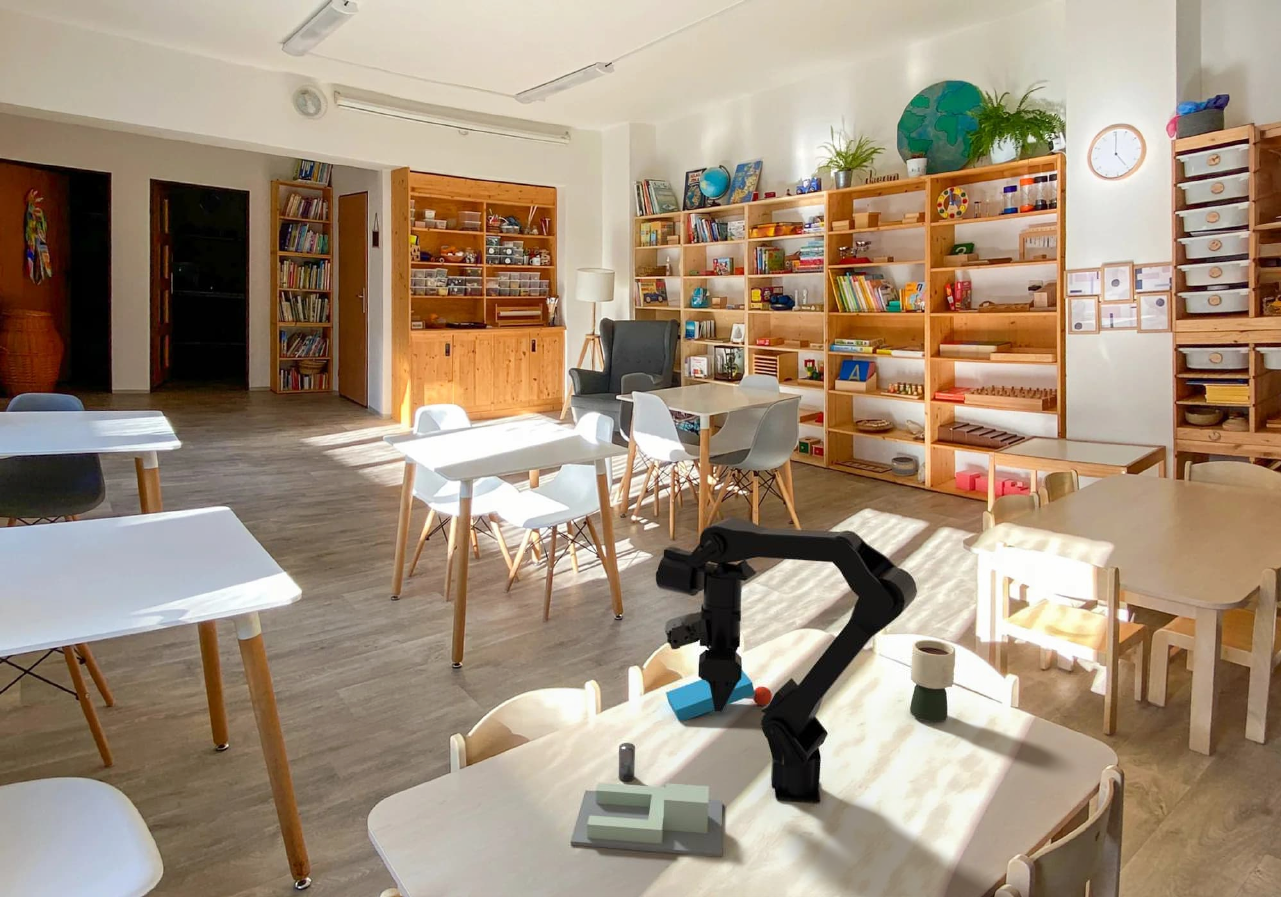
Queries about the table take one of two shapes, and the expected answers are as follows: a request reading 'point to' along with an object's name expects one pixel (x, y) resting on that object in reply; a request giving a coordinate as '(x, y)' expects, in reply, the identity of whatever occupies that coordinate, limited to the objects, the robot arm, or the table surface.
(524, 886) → the table surface
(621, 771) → the grey metal rod
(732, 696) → the lever
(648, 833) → the c link
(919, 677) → the cream and green cup
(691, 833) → the mat
